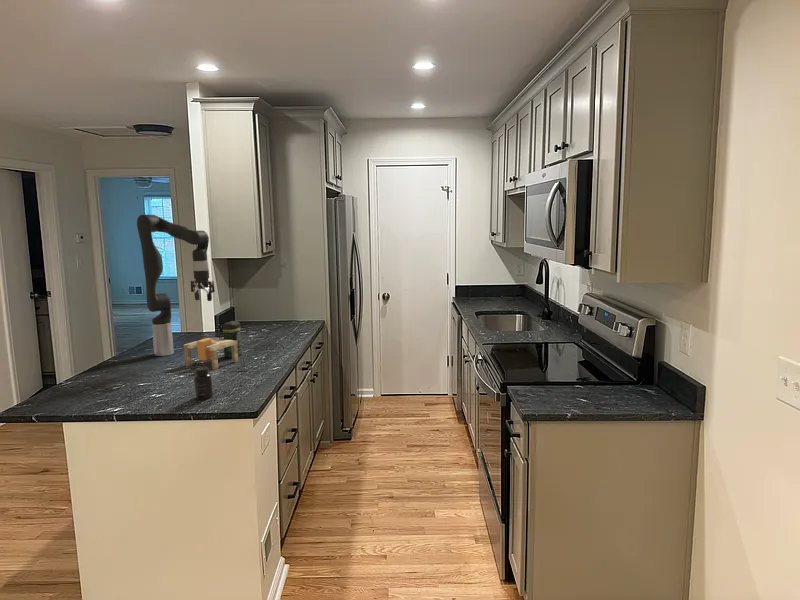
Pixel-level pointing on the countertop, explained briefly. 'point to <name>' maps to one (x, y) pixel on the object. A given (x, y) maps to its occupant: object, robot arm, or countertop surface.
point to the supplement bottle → (203, 383)
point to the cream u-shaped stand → (212, 350)
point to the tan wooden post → (203, 349)
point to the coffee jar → (232, 337)
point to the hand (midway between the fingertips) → (203, 300)
